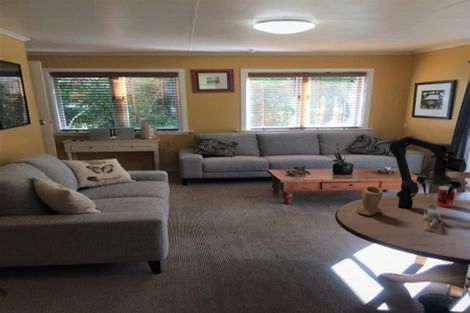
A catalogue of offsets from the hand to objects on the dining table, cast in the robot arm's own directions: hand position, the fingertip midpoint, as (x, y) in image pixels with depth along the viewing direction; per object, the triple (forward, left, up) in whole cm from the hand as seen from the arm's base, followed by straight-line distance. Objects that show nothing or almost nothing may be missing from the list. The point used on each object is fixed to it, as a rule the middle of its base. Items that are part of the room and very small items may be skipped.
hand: (435, 196), depth 149 cm
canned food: (+7, +24, -12) cm, 28 cm away
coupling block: (0, -7, -11) cm, 13 cm away
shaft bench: (0, -8, -12) cm, 14 cm away
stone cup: (-29, -11, -12) cm, 33 cm away
